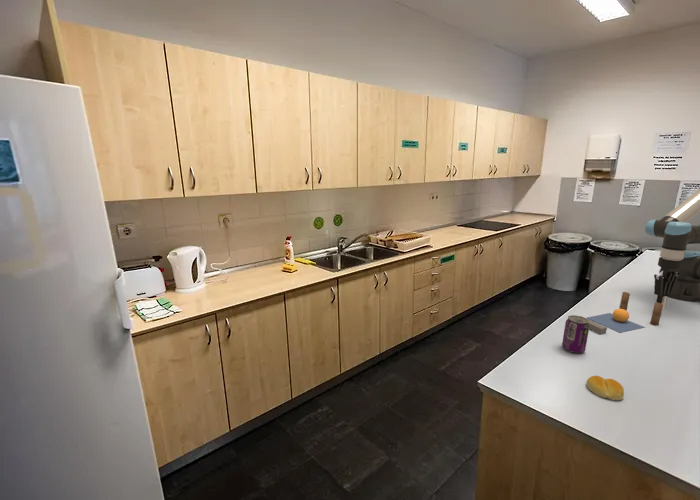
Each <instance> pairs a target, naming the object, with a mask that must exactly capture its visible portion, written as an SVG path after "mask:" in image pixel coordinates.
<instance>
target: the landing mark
mask: <svg viewBox="0 0 700 500" xmlns="http://www.w3.org/2000/svg"><path fill="white" fill-rule="evenodd" d="M586 319H589V320H591V321H593V322H595V323H598V324H600V325H602V326H604V327H607V329H610V330H613V332H617V333H619V334H622V333H625V332H630V331H634V330H638V329H639V330H640V329H644V328H645V326H643V325H641V324H638V323H636V322H633V321H631V320H629V319H628V320H627V321H625V322H619V321H617V320H615V319H614V318H613V313H611V312H608V313H603V314H598V315H592V316H588V317H586Z"/></svg>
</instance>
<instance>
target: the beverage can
mask: <svg viewBox="0 0 700 500" xmlns="http://www.w3.org/2000/svg"><path fill="white" fill-rule="evenodd" d="M581 316H582V315H573V314H572V315H571V314H570V315H567V319H566V320H565V323H564V331H563V336H562V343H561V346H562V347H563V348H564V350H565V349H566V350H567V351H569V352H570V351H571V353H574V354H575V353H576V354H580V353H585V352H586V348H587V344H588V343H587V342H588V337H589V331H590V330H589V321H588V319H587V317H584V316H582V317H581Z"/></svg>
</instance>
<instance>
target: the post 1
mask: <svg viewBox="0 0 700 500" xmlns="http://www.w3.org/2000/svg"><path fill="white" fill-rule="evenodd" d="M630 296H631V293H630V292H627V291H622V293H621V299H620V302H619V303H620V304H619V308H618V309H624V310H626V311H627V310H628V304H629V302H630V301H629V300H630ZM627 312H628V311H627Z"/></svg>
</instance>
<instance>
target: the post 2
mask: <svg viewBox="0 0 700 500" xmlns="http://www.w3.org/2000/svg"><path fill="white" fill-rule="evenodd" d="M662 308H663V304H661V303H656V302H654V305H653V309H652V313H651V317H650V322H649V324H650V325H653V326H659V325H660V321H661V316H662V312H663V311H662Z"/></svg>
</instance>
